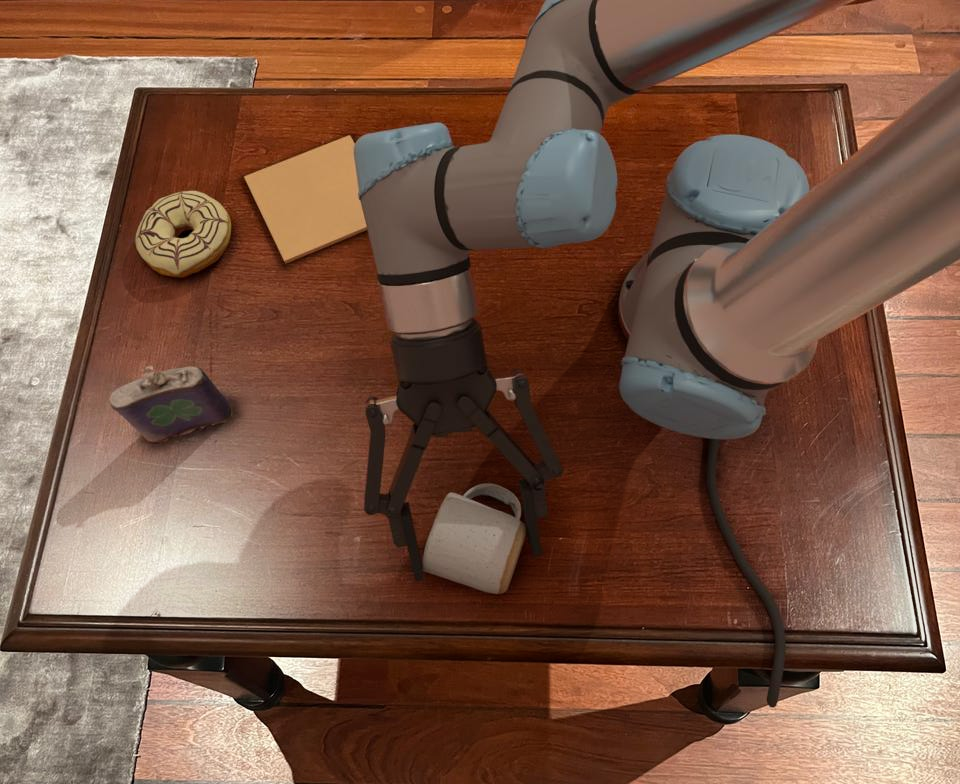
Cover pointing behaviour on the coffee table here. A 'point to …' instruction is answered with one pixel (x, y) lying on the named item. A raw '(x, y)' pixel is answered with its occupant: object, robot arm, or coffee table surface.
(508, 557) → the ceramic mug
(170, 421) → the flask
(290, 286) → the coffee table surface
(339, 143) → the cork mat
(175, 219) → the decorated donut
